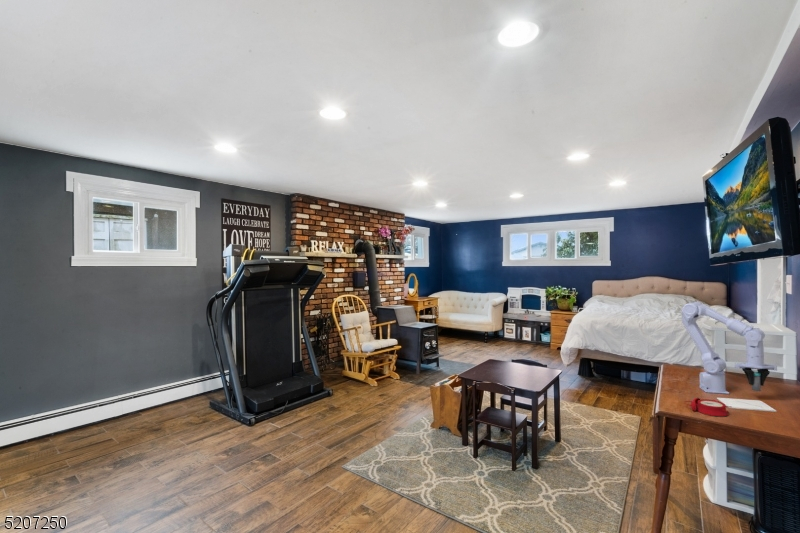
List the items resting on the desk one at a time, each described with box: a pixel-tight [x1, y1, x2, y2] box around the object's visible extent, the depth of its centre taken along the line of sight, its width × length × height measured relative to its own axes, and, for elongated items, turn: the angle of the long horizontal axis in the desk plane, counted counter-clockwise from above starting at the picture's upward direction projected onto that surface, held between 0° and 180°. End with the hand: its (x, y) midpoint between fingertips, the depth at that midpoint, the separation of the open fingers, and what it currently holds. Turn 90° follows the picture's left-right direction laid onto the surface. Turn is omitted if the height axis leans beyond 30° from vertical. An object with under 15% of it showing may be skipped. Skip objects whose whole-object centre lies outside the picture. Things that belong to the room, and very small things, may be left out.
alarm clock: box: [684, 397, 731, 417], centre depth 160 cm, size 10×6×15 cm
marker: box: [751, 371, 762, 392], centre depth 171 cm, size 3×3×8 cm
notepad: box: [716, 397, 777, 413], centre depth 165 cm, size 16×12×1 cm
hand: (756, 384), depth 171 cm, fingers closed on marker, 3 cm apart
